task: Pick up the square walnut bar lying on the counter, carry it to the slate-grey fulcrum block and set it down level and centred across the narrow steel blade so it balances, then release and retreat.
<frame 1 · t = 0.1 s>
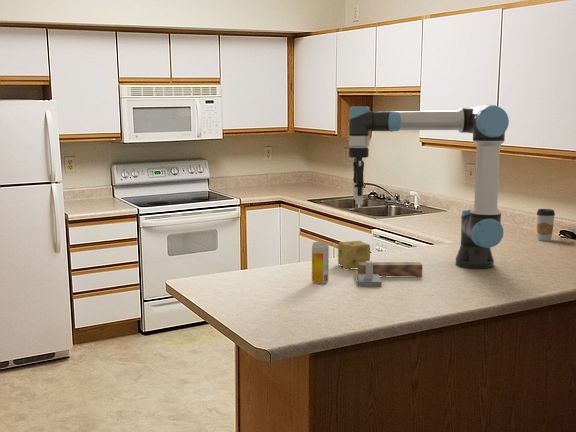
hand: (358, 201, 266), 28 cm above the countertop, fingers open, 13 cm apart
walnut bar: (389, 276, 264), on the countertop
fulcrum: (369, 283, 253), on the countertop
beer can: (320, 283, 253), on the countertop
cheese: (353, 267, 280), on the countertop
coffee cup: (544, 240, 335), on the countertop
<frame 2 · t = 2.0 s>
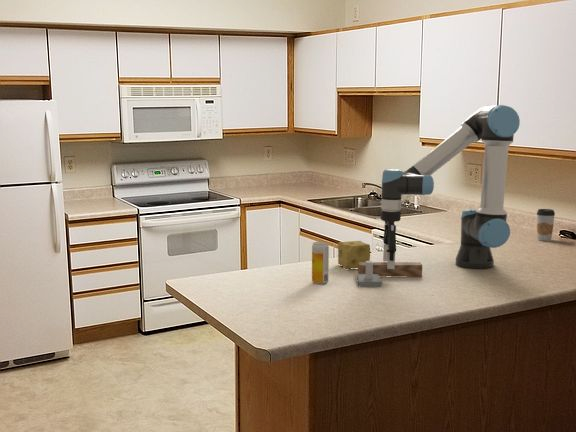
hand: (388, 264, 264), 4 cm above the countertop, fingers open, 13 cm apart
nothing on the countertop moved.
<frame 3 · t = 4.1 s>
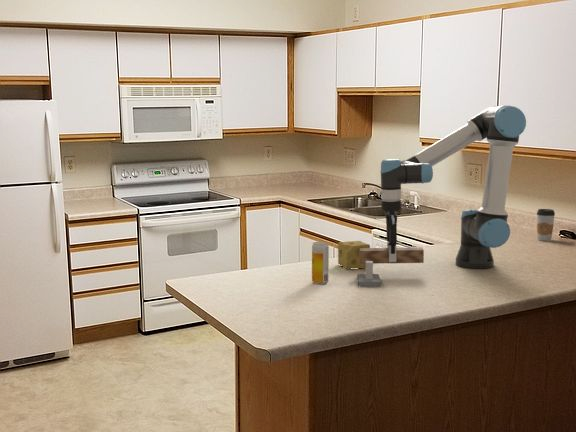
hand: (391, 259, 264), 6 cm above the countertop, fingers closed on walnut bar, 5 cm apart
walnut bar: (391, 261, 264), point 5 cm above the countertop, touching gripper
everything else where it was.
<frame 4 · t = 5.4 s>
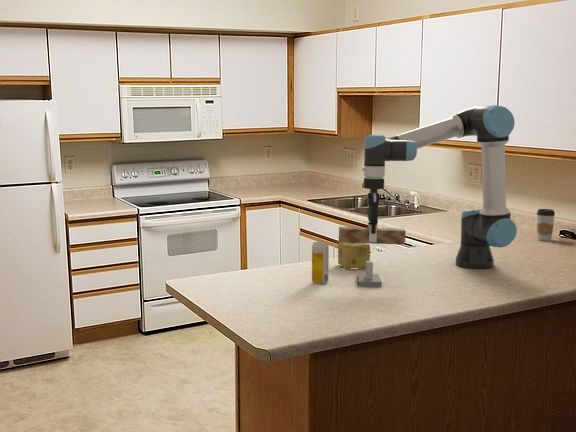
hand: (372, 240, 253), 16 cm above the countertop, fingers closed on walnut bar, 5 cm apart
walnut bar: (371, 242, 253), point 15 cm above the countertop, touching gripper
everything else where it was.
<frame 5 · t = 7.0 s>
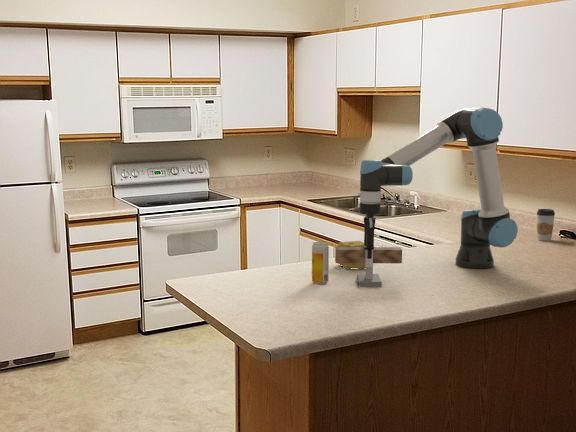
hand: (368, 265, 252), 7 cm above the countertop, fingers closed on walnut bar, 5 cm apart
walnut bar: (368, 261, 252), point 8 cm above the countertop, touching fulcrum, gripper
everything else where it was.
when the fingers open (7 cm above the countertop, at t = 8.1 s): walnut bar stays where it is, resting on fulcrum.
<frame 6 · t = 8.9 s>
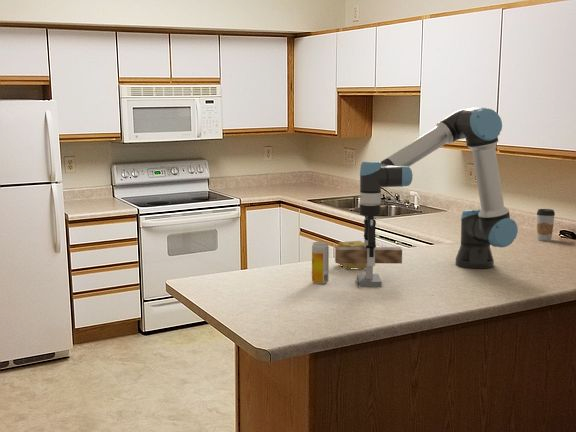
hand: (369, 261, 252), 8 cm above the countertop, fingers open, 13 cm apart
walnut bar: (368, 261, 252), point 8 cm above the countertop, touching fulcrum
everything else where it was.
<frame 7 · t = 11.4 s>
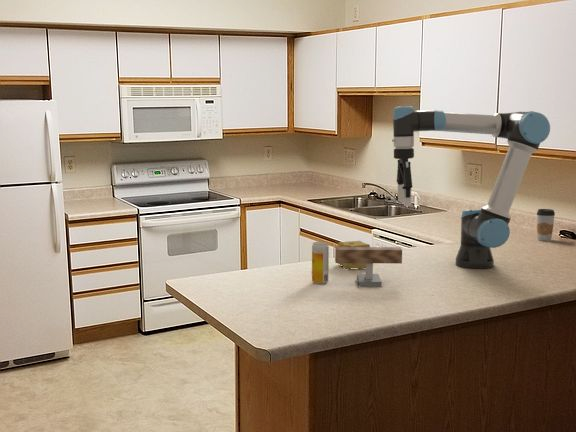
hand: (404, 203, 261), 28 cm above the countertop, fingers open, 13 cm apart
nothing on the countertop moved.
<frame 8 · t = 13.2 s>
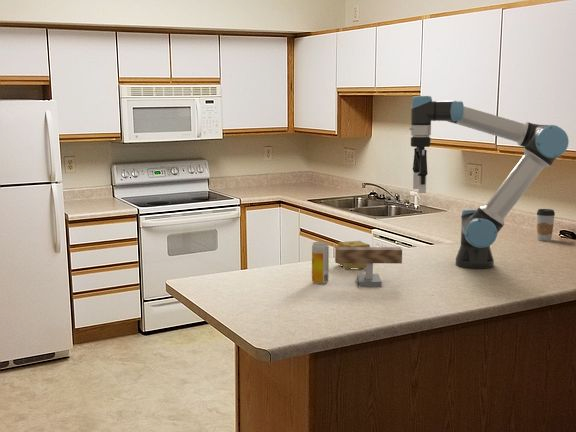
hand: (419, 191, 268), 32 cm above the countertop, fingers open, 13 cm apart
nothing on the countertop moved.
at the end: walnut bar 0.4 cm off-centre on the fulcrum, point 8.0 cm above the fulcrum's base; walnut bar tilted 0°; walnut bar touching fulcrum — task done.
